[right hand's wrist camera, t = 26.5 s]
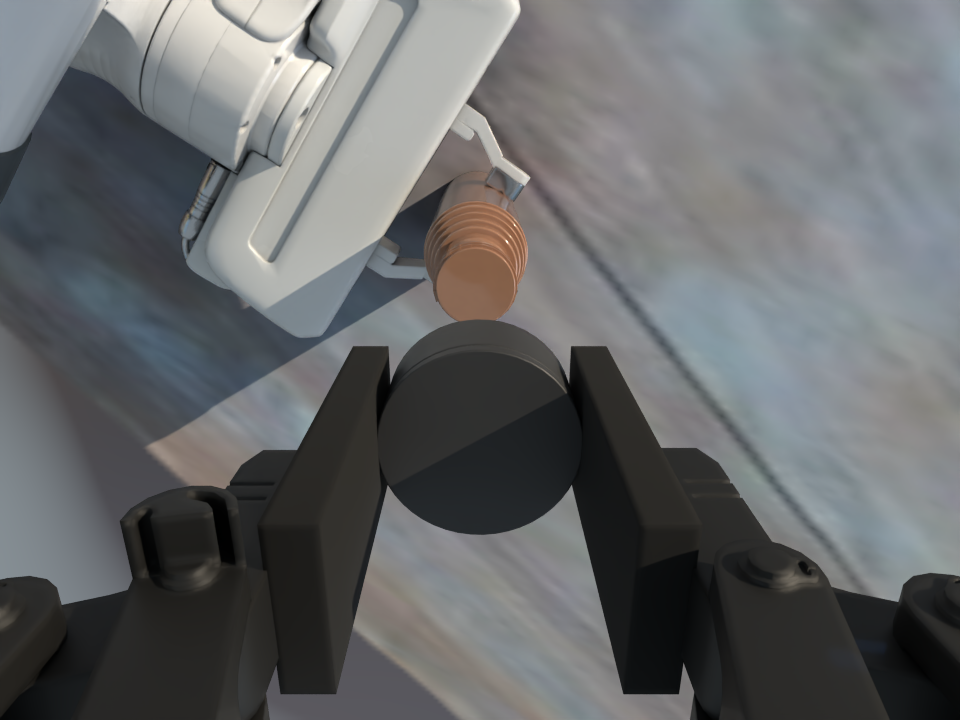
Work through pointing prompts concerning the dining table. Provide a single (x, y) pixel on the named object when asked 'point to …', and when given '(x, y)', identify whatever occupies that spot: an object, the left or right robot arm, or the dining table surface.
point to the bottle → (475, 250)
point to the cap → (479, 429)
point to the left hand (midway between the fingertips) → (490, 235)
